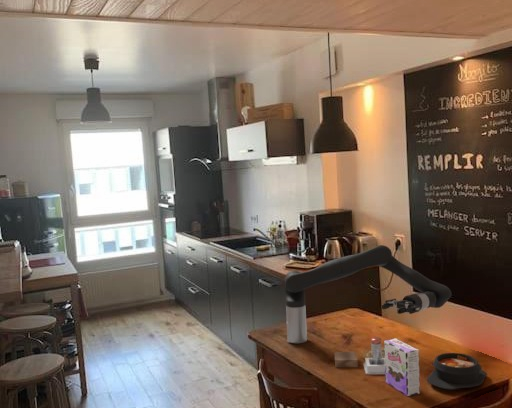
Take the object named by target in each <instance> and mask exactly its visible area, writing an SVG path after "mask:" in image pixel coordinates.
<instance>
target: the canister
mask: <svg viewBox="0 0 512 408" xmlns="http://www.w3.org/2000/svg"><path fill="white" fill-rule="evenodd" d="M370 347H371V351H370V352H371V354H370V355H371V358H372V365H382V358H383V355H382V352H383V351H382V339H381V337H378V336H372V337H371V338H370Z"/></svg>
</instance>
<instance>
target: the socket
mask: <svg viewBox="0 0 512 408" xmlns="http://www.w3.org/2000/svg"><path fill="white" fill-rule="evenodd" d="M364 361H365V362H363V363H362V365H363V369H364V373H365V375H385V357H382V365H372V357H365V359H364Z"/></svg>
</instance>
